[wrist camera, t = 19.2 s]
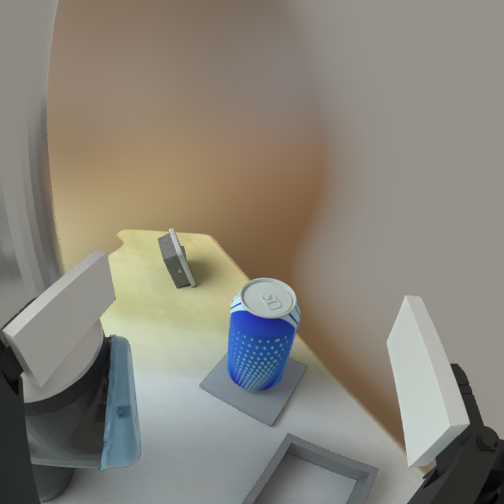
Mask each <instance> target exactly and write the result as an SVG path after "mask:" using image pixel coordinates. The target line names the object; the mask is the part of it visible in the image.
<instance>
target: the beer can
mask: <svg viewBox="0 0 504 504" xmlns="http://www.w3.org/2000/svg"><path fill="white" fill-rule="evenodd" d="M299 321H300V309H299V306H298V304H297V299H296V295H295V293H294V291H293V290H292V289H291V288H290V287H289V286H288V285H287V284H285V283H283V282H281V281H279V280H275V279H270V278H258V279H254V280H251V281H249V282H247V283H246V284H245V285H244V286H243V287H242V288H241V290H240V293H239V294H237V295H236V297H235V298H234V299H233V301H232V304H231V308H230V323H229V339H228V356H227V371H228V374H229V377H230V378H231V380H232V381H233V382H234V383H235V384H236V385H238V386H239V387H241V388H243V389H246V390H249V391H265V390H268V389H270V388H272V387H274V386H275V385H276V384H278V382H279V381H280V380H281V378H282V376H283V373H284V370H285V367H286V363H287V360H288V357H289V354H290V351H291V348H292V344H293V341H294V338H295V335H296V331H297V328H298V325H299Z"/></svg>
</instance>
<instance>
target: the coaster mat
mask: <svg viewBox="0 0 504 504" xmlns="http://www.w3.org/2000/svg"><path fill="white" fill-rule="evenodd" d="M227 356H228V352H227V353H226V355H225V356H224V357H223V358H222V359H221V360H220V362H219V363H218V364H217V365H216V366H215V367H214V369H213V370H212V371H211V372H210V373H209V374H208V375H207V377H206V378H205V379H204V380H203V381H202V382H201V383H200V384H199V387H201V388H202V389H204V390H205V391H207V392H209V393H210V394H212V395H214V396H216V397H217V398H219V399H221V400H222V401H224V402H226V403H228V404H229V405H231V406H233V407H235V408H237V409H238V410H240V411H242V412H244V413H246V414H248V415H249V416H251V417H253V418H255V419H257V420H259V421H261V422H263V423H265V424H267V425H269V426H272V425H273V423H274V422H275V420H276V419H277V417H278V415H279V414H280V412H281V411H282V409H283V407H284V406H285V404H286V402H287V401H288V399H289V397H290V396H291V394H292V392H293V391H294V389H295V387H296V385H297V384H298V382H299V380H300V379H301V377H302V375H303V373H304V371H305V370H306V368H307V366H305V365H303V364H301V363H299V362H296V361H294V360H292V359H290V358H288V360H287V363H286V367H285V370H284V373H283V376H282V378H281V380H280V381H279V382H278V384H276V385H275V386H274V387H272V388H270V389H268V390H265V391H249V390H246V389H243V388H241V387H239V386H238V385H236V384H235V383H234V382H233V381H232V380H231V378H230V377H229V374H228V371H227Z"/></svg>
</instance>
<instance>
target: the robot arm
mask: <svg viewBox="0 0 504 504" xmlns="http://www.w3.org/2000/svg"><path fill="white" fill-rule="evenodd" d="M57 5H58V0H0V504H41V503H40V502H45V501H49V500H51V499H53V498H55V497H57V496H58V495H59V494H61V493H62V492H63V491H64V489H65V488H66V487H67V485H68V483H69V481H70V479H71V476H72V473H73V468H98V469H99V470H101V471H104V470H106V469H107V468H118V467H128V466H131V465H133V464H135V463H136V462H137V461H138V459H139V457H140V453H141V443H140V431H139V421H138V411H137V402H136V392H135V383H134V373H133V363H132V354H131V348H130V344H129V342H128V340H127V339H126V338H124V337H120V336H116V335H115V334H114V335H110V336H109V337H105V334H104V331H103V328H102V324H101V322H100V319H99V318H100V316H101V315H102V314H103V313H104V312H105V311H106V310H107V309H108V307H109V306H110V305H111V304H112V303H113V302H114V301H115V300H116V297H115V292H114V287H113V282H112V277H111V272H110V266H109V261H108V255H107V252H103V251H98V250H95V251H93V252H92V253H91V254H90V255H88V256H87V257H86V258H84V259H83V260H82V261H81V262H79V263H78V264H77V265H76V266H74V267H73V268H72V269H71V270H70V271H68V272H67V271H66V267H65V263H64V258H63V254H62V249H61V244H60V239H59V234H58V229H57V222H56V216H55V210H54V203H53V195H52V188H51V178H50V167H49V154H48V134H47V93H48V73H49V60H50V50H51V41H52V33H53V27H54V21H55V15H56V10H57ZM387 347H388V352H389V356H390V360H391V365H392V370H393V374H394V379H395V384H396V389H397V394H398V400H399V405H400V411H401V417H402V423H403V430H404V436H405V444H406V452H407V460H408V468H409V467H418V466H426V465H428V464H429V463H430V462H431V461H432V460H434V459H435V458H436V464H437V466H435V467H434V468H433V469H432V470H431V471H429V472H428V473H427V474H426V475H425V476H424V477H423V479H425V478H426V480H425V481H424V482H423V484H422V485H421V486H420V488H419V489H418V490H417V492H416V493H415V494H414V496H413V497H412V498H411V499H410V501H409V502H408V503H407V504H504V440H501V439H499V437H498V435H497V433H496V432H495V431H494V430H493V429H491V428H489V427H487V426H484V424H483V421H482V418H481V415H480V412H479V410H478V406H477V404H476V401H475V398H474V395H472V389H471V387H470V386H469V382H468V379H467V376H466V374H465V372H464V371H463V370H462V369H461V368H460V366H459V365H458V364H450V363H449V361H448V358H447V356H446V353H445V351H444V348H443V346H442V343H441V341H440V339H439V337H438V334H437V332H436V329H435V327H434V325H433V323H432V320H431V318H430V316H429V314H428V312H427V310H426V308H425V305H424V303H423V301H422V299H421V297H419V296H410V295H405V298H404V300H403V303H402V306H401V308H400V311H399V314H398V316H397V318H396V321H395V324H394V326H393V328H392V331H391V333H390V336H389V338H388V340H387Z"/></svg>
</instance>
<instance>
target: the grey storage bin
mask: <svg viewBox="0 0 504 504" xmlns="http://www.w3.org/2000/svg"><path fill="white" fill-rule="evenodd" d="M286 452H288V453H290V454H292V455H294V456H297V457H299V458H301V459H303V460H306V461H308V462H311V463H313V464H315V465H318V466H320V467H323V468H325V469H328V470H330V471H333V472H336V473H338V474H341V475H344V476H347V477H349V478H352V479H355V480H357V482H356V484H355V487H354V489H353V491H352V493H351V495H350V497H349V500H348V502H347V504H365V501H366V499H367V497H368V494H369V492H370V490H371V487H372V485H373V482H374V480H375V477H376V475H377V472H378V468H375V467H372V466H369V465H366V464H363V463H360V462H358V461H355V460H352V459H349V458H347V457H344V456H341V455H339V454H336V453H334V452H331V451H329V450H326V449H324V448H321V447H319V446H317V445H314V444H312V443H310V442H307V441H305V440H303V439H301V438H298V437H296V436H294V435H292V434H290V433H288V434H287V435H286V437H285V439H284V440H283V442H282V444H281V445H280V447H279V449H278V450H277V452H276V453H275V455H274V457H273V458H272V460H271V461H270V463H269V464H268V466H267V468H266V469H265V471H264V472H263V474H262V475H261V477H260V478H259V480H258V481H257V482H256V484H255V485H254V487H253V488H252V490H251V491H250V493H249V494H248V495H247V497H246V498H245V500H244V501H243V502H242V504H252V503H253V502H254V501H255V499H256V498H257V496H258V495H259V493H260V492H261V490H262V489H263V487H264V486H265V484H266V483H267V481H268V480H269V478H270V477H271V475H272V474H273V472H274V470H275V469H276V467H277V466H278V464H279V463H280V461H281V459H282V458H283V456H284V454H285V453H286Z"/></svg>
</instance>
